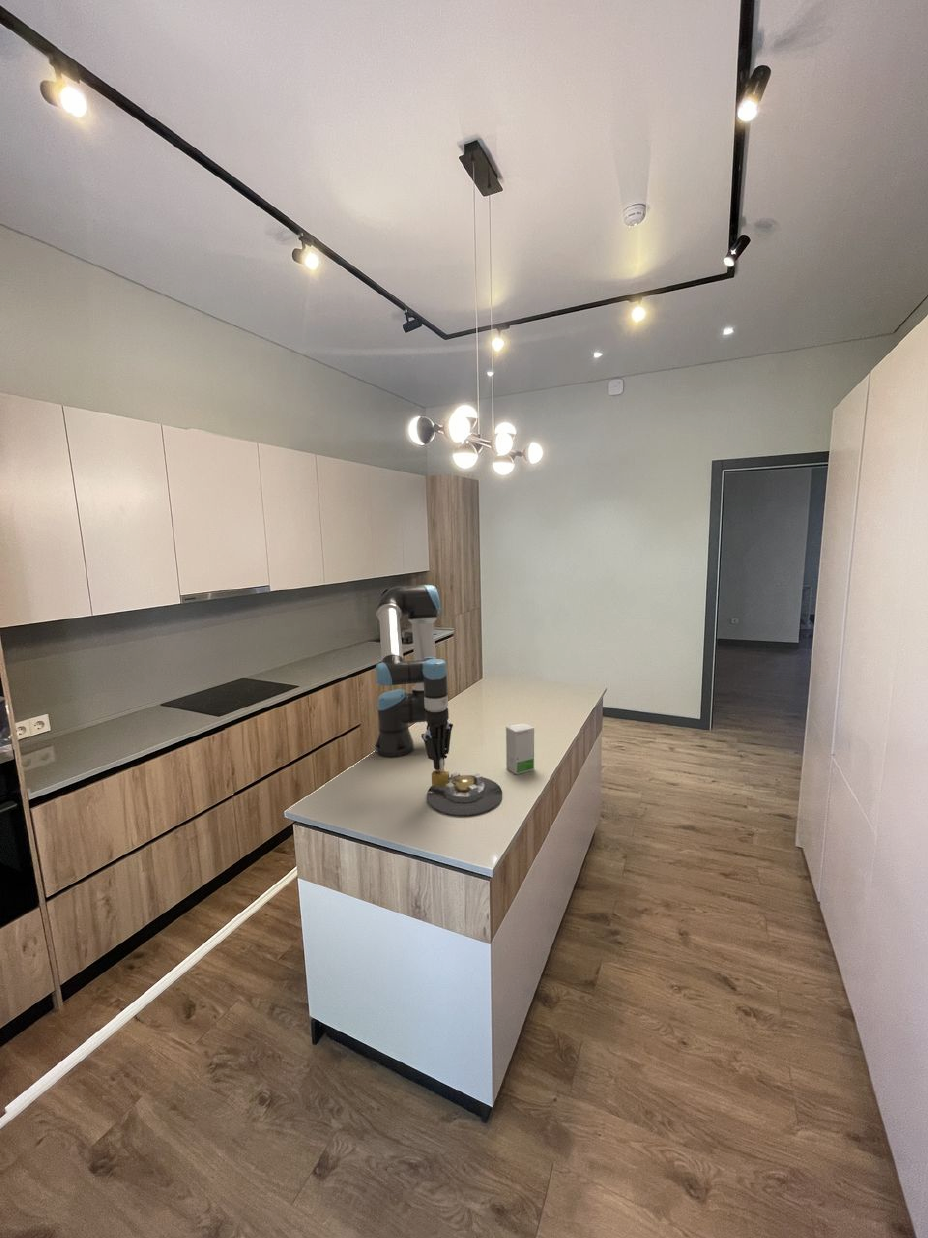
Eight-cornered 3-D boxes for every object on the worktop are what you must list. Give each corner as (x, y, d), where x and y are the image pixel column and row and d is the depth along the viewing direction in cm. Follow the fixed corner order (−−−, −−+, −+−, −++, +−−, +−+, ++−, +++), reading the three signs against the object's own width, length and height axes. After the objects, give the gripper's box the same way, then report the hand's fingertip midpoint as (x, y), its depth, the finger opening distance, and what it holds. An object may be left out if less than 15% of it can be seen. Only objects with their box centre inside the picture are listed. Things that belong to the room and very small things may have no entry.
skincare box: (515, 775, 166) (514, 732, 164) (505, 768, 172) (504, 726, 169) (535, 769, 170) (535, 727, 167) (524, 762, 176) (524, 721, 173)
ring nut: (487, 784, 158) (486, 766, 157) (480, 804, 146) (480, 785, 145) (438, 780, 161) (437, 763, 160) (427, 799, 149) (427, 781, 148)
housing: (416, 812, 145) (415, 795, 144) (439, 775, 168) (438, 760, 167) (494, 820, 139) (494, 802, 138) (507, 781, 162) (507, 765, 161)
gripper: (431, 716, 146) (435, 788, 150) (458, 704, 156) (461, 772, 159) (413, 711, 151) (417, 782, 154) (441, 700, 160) (444, 766, 164)
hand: (439, 777), depth 157 cm, fingers closed
